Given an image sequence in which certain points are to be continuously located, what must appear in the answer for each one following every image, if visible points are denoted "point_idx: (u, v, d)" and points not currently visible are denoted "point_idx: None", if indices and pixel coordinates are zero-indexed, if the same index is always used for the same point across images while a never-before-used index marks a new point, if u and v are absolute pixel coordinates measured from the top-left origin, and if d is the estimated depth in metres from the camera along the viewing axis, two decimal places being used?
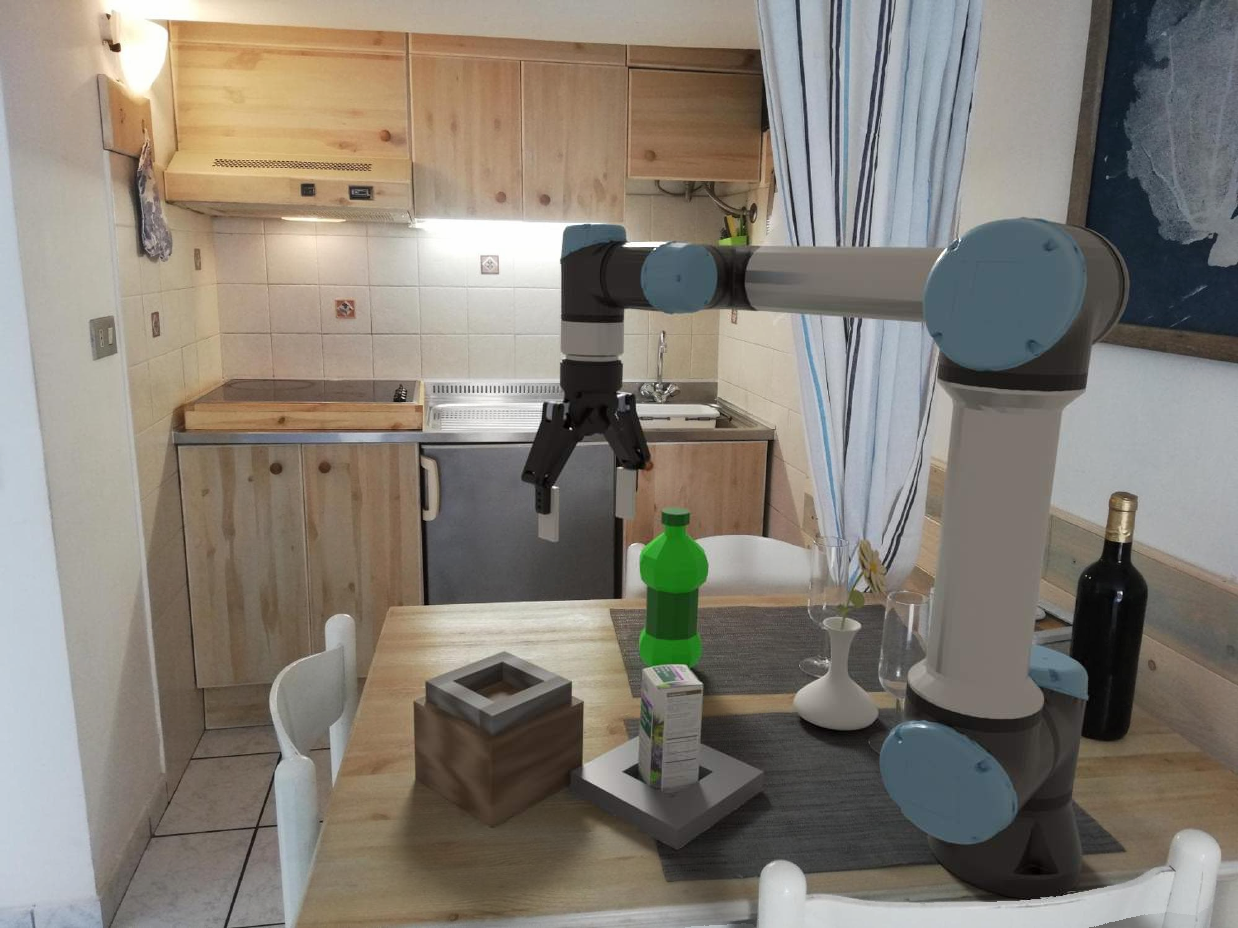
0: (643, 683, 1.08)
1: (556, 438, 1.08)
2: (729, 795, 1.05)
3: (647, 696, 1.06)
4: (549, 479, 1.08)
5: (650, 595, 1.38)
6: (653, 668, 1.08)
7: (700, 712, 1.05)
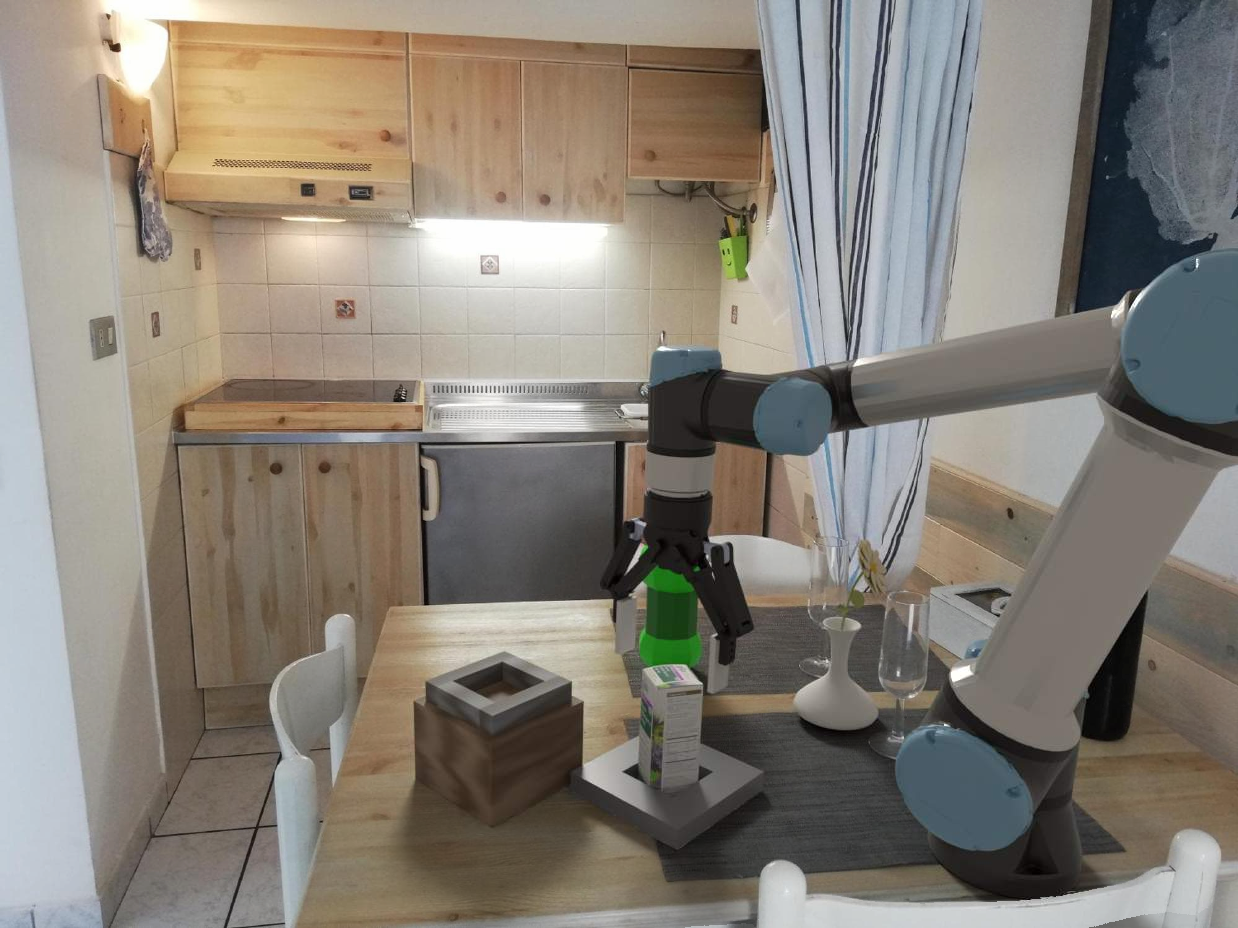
0: (643, 683, 1.08)
1: (622, 553, 1.07)
2: (729, 795, 1.05)
3: (647, 696, 1.06)
4: (614, 589, 1.09)
5: (650, 595, 1.38)
6: (653, 668, 1.08)
7: (700, 712, 1.05)
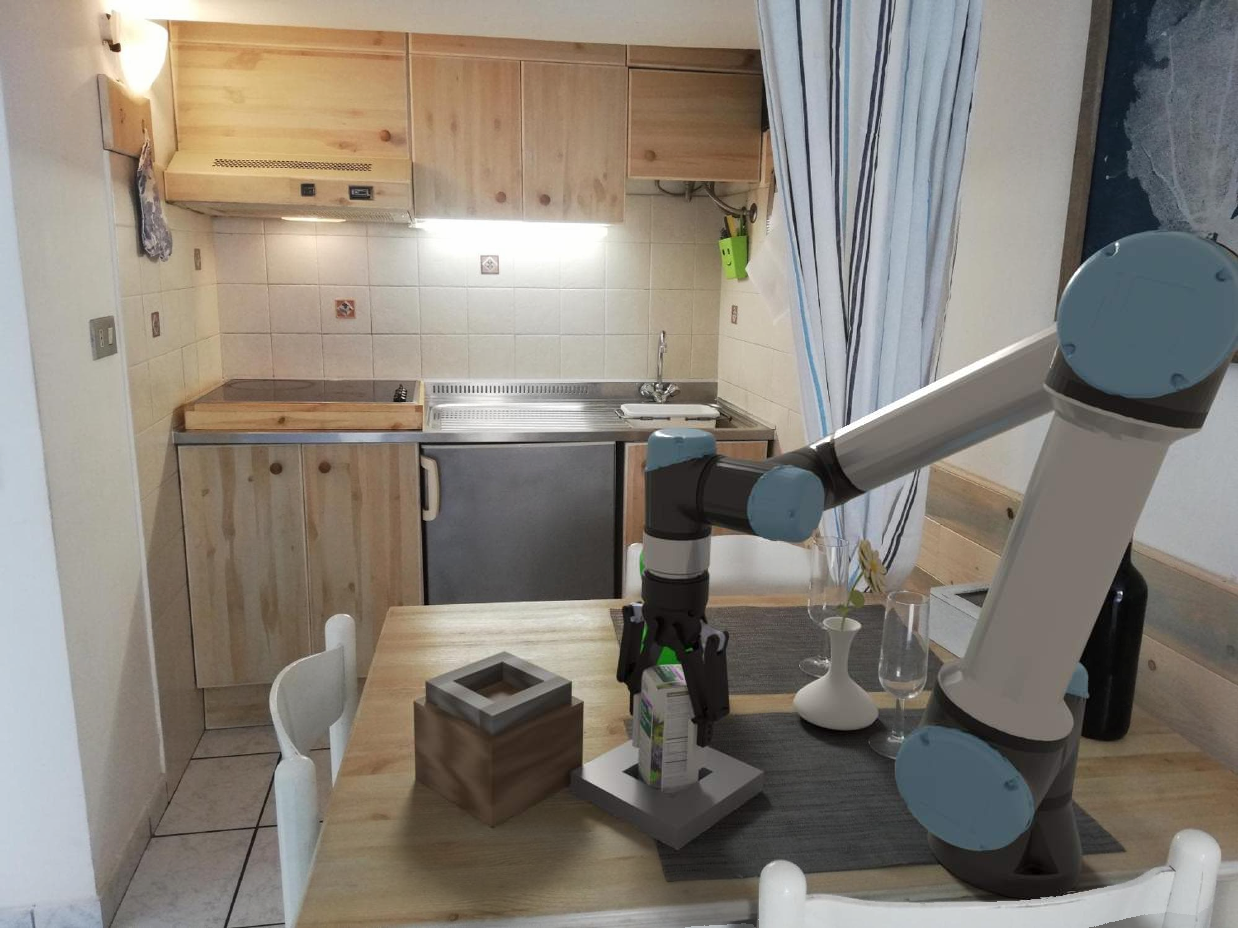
0: (642, 683, 1.08)
1: (628, 640, 1.08)
2: (729, 795, 1.05)
3: (647, 696, 1.06)
4: (629, 683, 1.09)
5: None
6: (653, 668, 1.08)
7: None
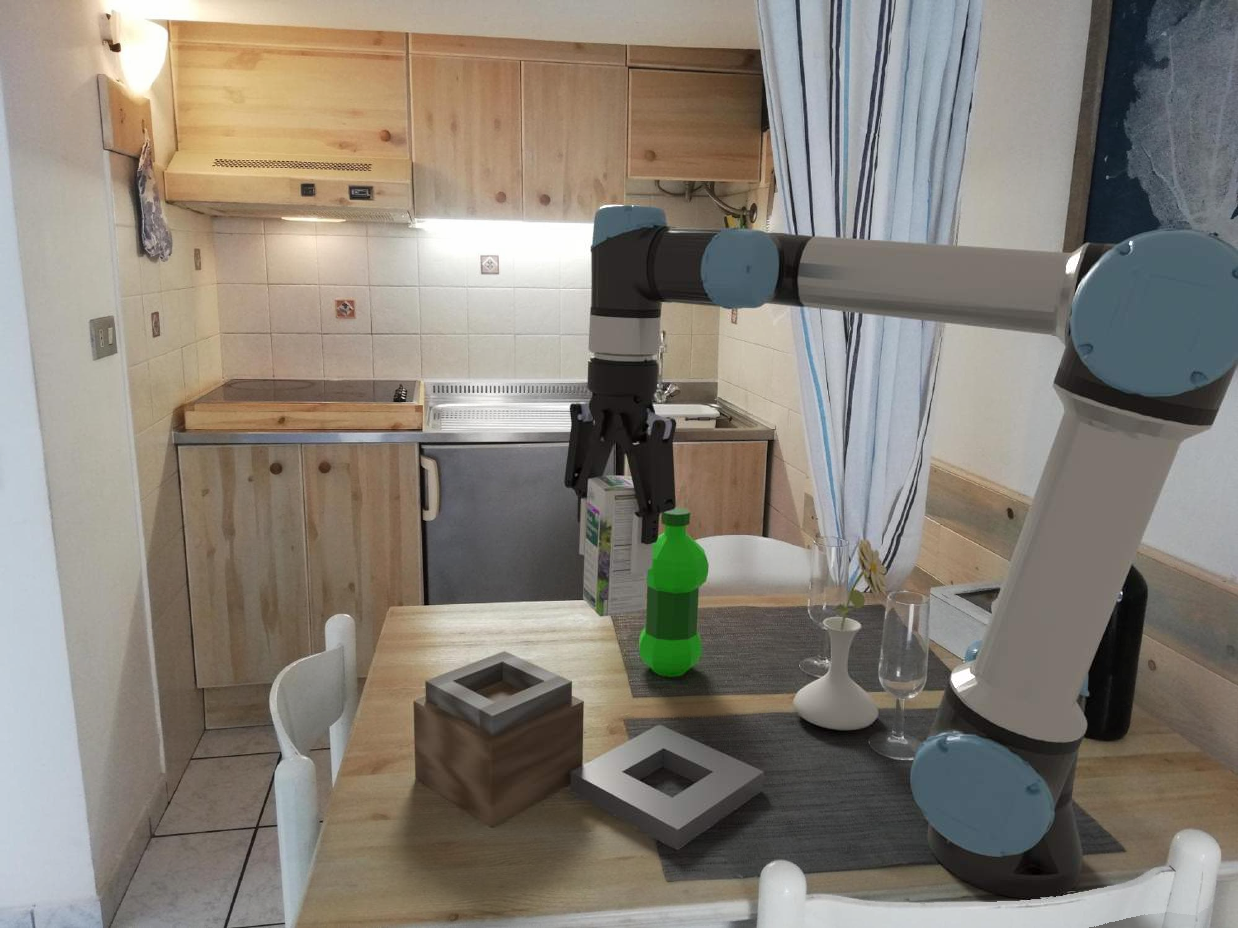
0: (588, 493, 1.04)
1: (576, 440, 1.04)
2: (729, 795, 1.05)
3: (594, 503, 1.02)
4: (577, 487, 1.05)
5: (650, 595, 1.38)
6: (599, 478, 1.04)
7: None
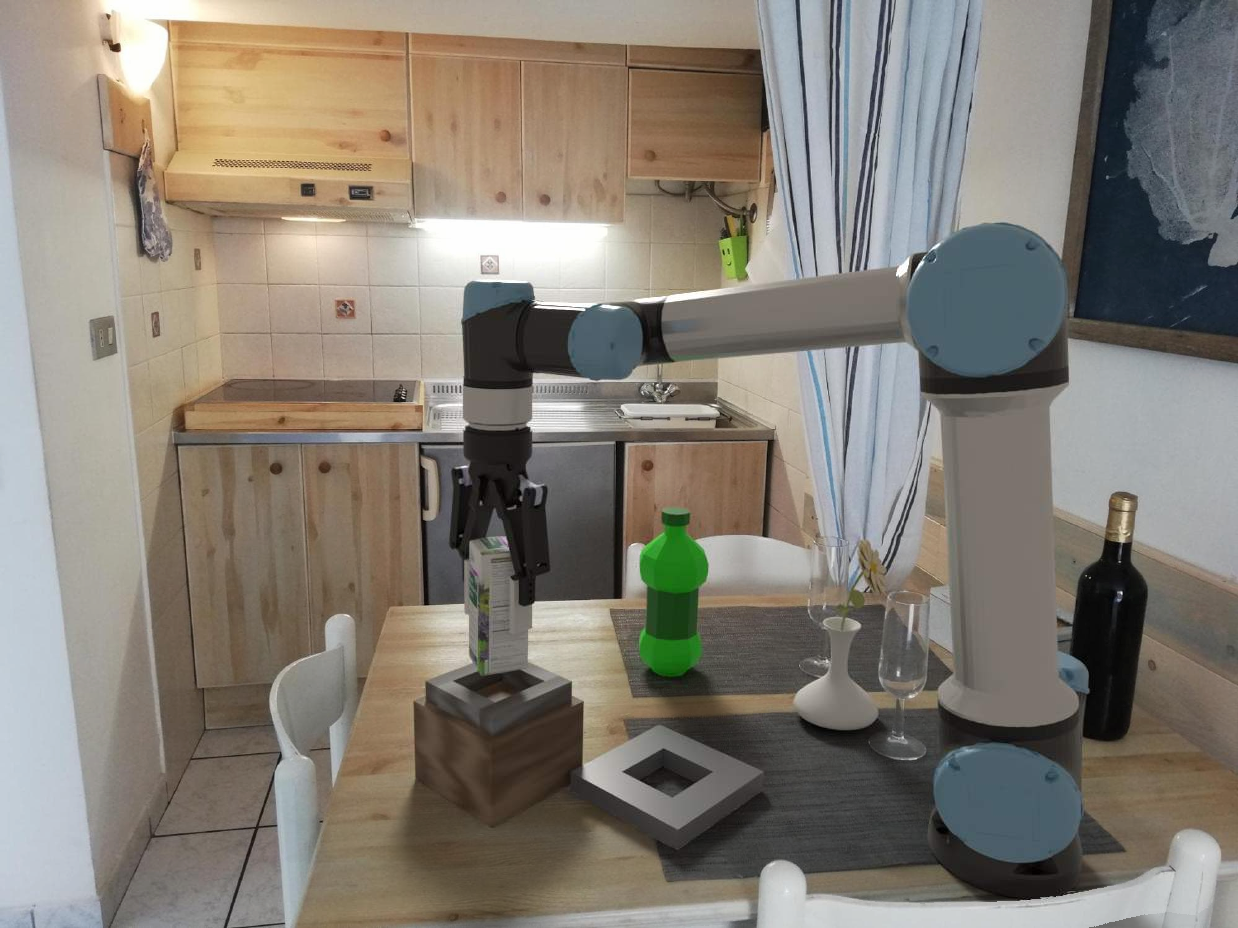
0: (470, 555, 1.06)
1: (457, 503, 1.07)
2: (729, 795, 1.05)
3: (474, 565, 1.05)
4: (460, 549, 1.08)
5: (650, 595, 1.38)
6: (480, 539, 1.06)
7: None
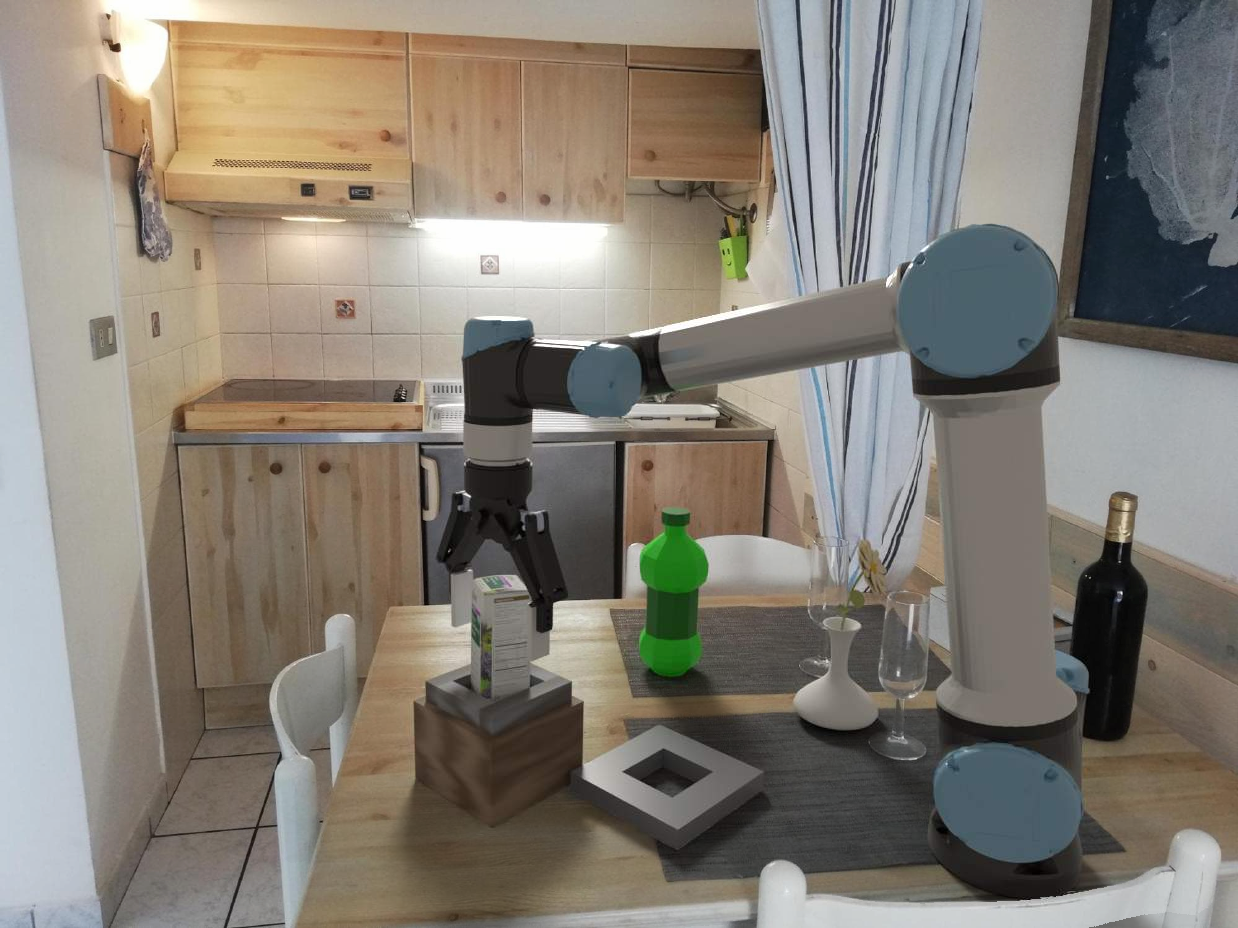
0: (472, 594, 1.07)
1: (452, 526, 1.08)
2: (729, 795, 1.05)
3: (476, 605, 1.06)
4: (448, 562, 1.10)
5: (650, 595, 1.38)
6: (482, 578, 1.07)
7: None
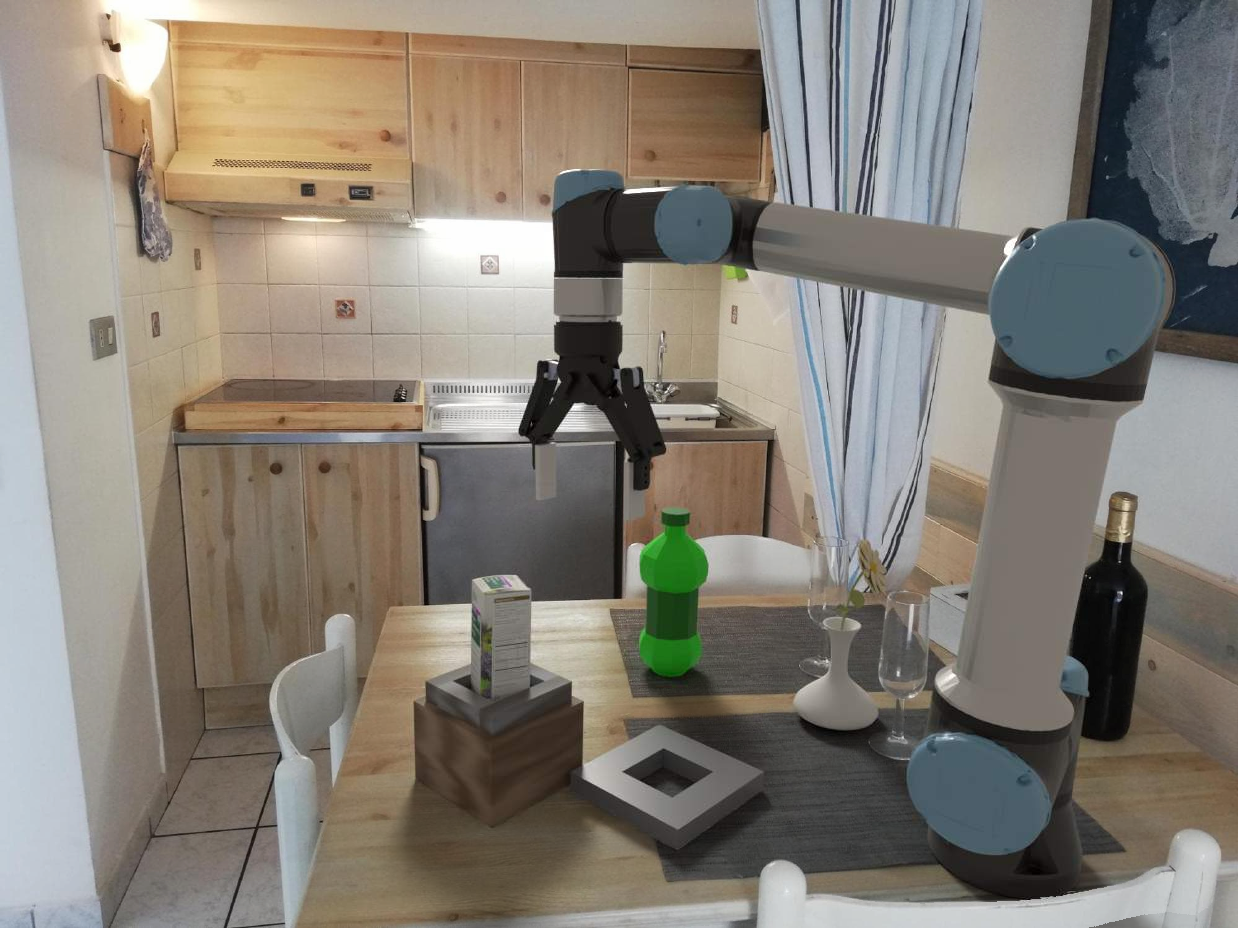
0: (472, 594, 1.07)
1: (537, 395, 1.07)
2: (729, 795, 1.05)
3: (476, 605, 1.06)
4: (531, 434, 1.09)
5: (650, 595, 1.38)
6: (483, 578, 1.07)
7: (529, 618, 1.05)
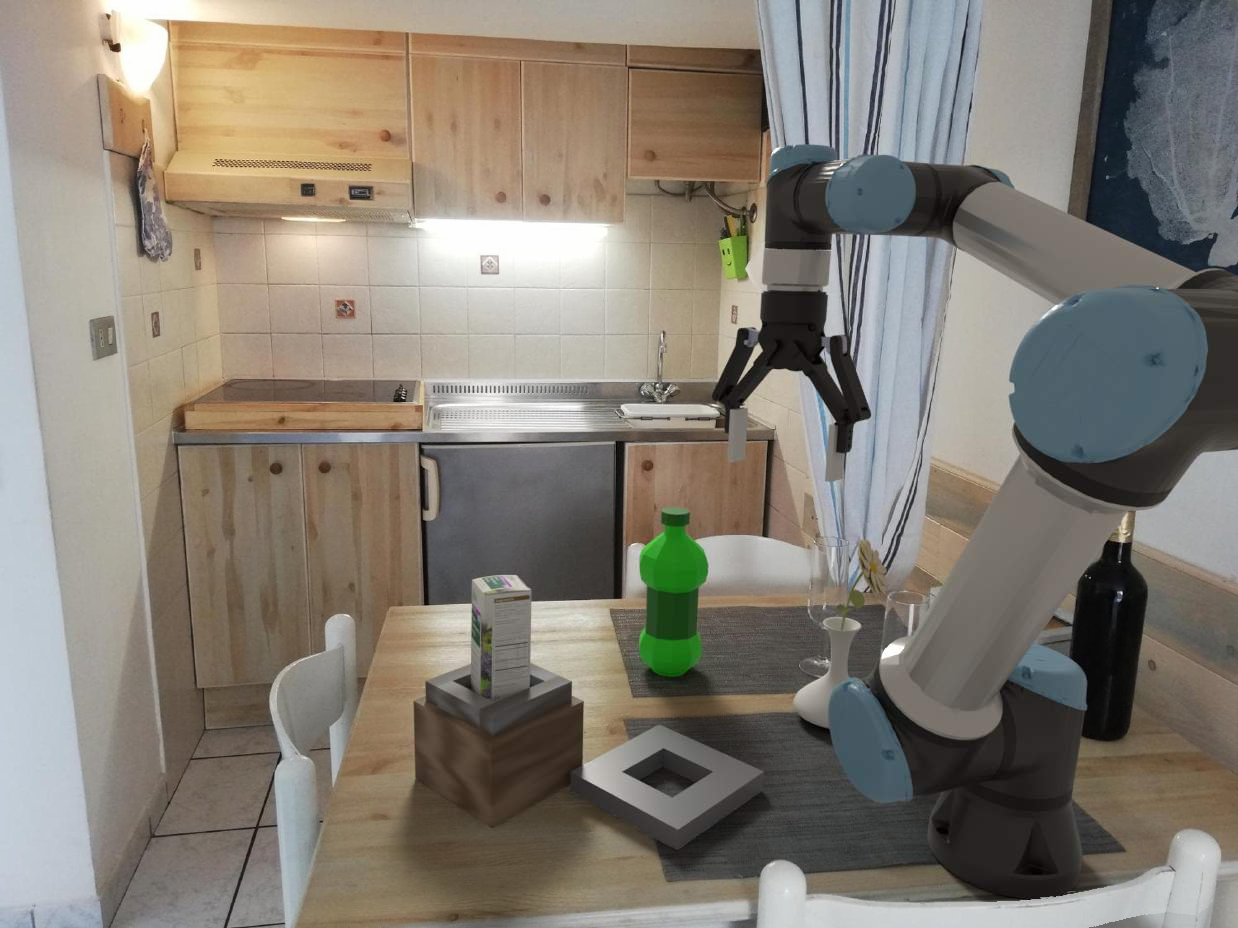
0: (472, 594, 1.07)
1: (735, 361, 1.12)
2: (729, 795, 1.05)
3: (476, 605, 1.06)
4: (726, 399, 1.14)
5: (650, 595, 1.38)
6: (483, 578, 1.07)
7: (529, 618, 1.05)
